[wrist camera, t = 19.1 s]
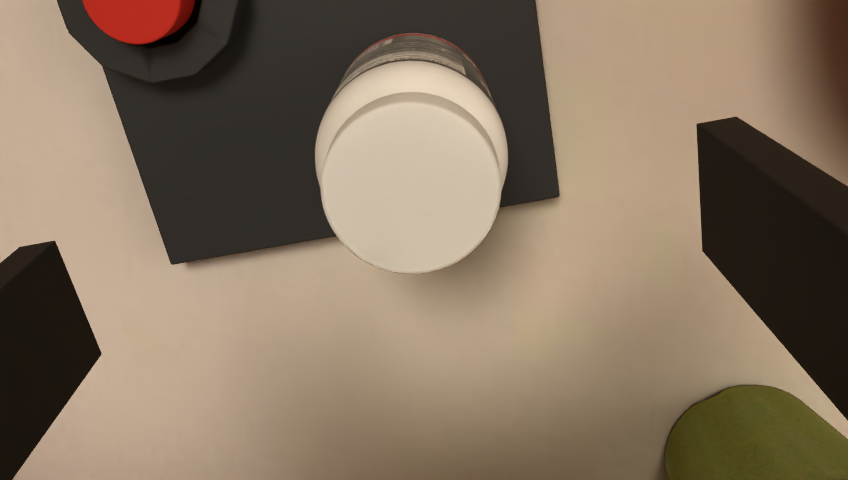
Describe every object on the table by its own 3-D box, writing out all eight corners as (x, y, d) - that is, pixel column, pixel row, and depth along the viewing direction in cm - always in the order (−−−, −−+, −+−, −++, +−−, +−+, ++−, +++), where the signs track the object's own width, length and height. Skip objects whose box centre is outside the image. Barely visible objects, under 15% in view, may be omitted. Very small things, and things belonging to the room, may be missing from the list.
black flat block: (179, 252, 32) (157, 282, 30) (63, -89, 27) (23, -90, 24) (554, 186, 31) (567, 211, 28) (507, -183, 26) (517, -195, 23)
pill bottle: (484, 183, 30) (512, 299, 21) (338, 178, 30) (301, 293, 20) (494, 32, 27) (530, 87, 18) (337, 26, 27) (294, 79, 18)
